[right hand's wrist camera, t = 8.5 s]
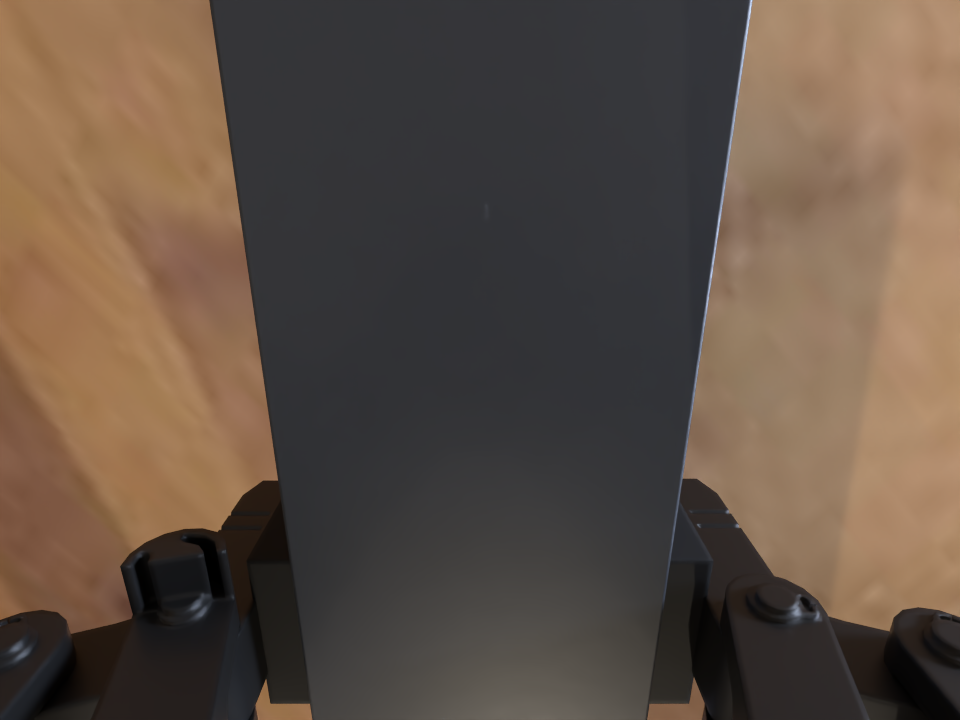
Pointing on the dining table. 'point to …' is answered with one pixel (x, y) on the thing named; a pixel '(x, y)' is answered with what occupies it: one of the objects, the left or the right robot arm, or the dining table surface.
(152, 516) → the dining table surface
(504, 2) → the beam
